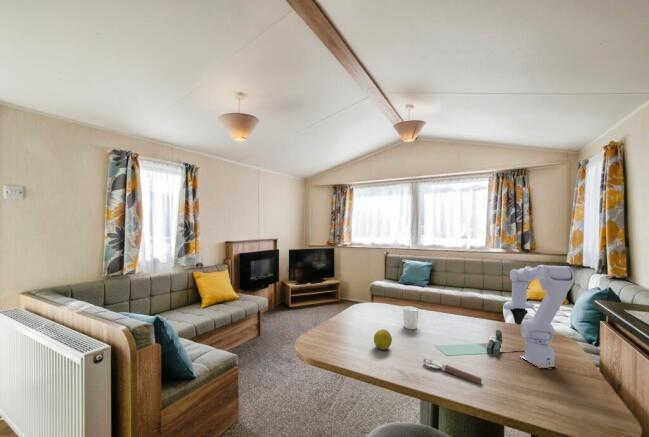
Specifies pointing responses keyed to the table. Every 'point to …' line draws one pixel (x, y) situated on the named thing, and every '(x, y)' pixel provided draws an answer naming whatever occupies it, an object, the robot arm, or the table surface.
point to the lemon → (382, 339)
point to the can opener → (497, 341)
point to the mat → (464, 349)
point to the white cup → (410, 317)
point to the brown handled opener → (452, 370)
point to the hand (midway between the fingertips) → (517, 323)
